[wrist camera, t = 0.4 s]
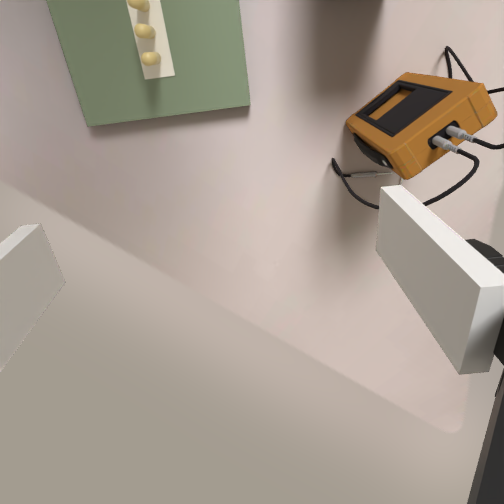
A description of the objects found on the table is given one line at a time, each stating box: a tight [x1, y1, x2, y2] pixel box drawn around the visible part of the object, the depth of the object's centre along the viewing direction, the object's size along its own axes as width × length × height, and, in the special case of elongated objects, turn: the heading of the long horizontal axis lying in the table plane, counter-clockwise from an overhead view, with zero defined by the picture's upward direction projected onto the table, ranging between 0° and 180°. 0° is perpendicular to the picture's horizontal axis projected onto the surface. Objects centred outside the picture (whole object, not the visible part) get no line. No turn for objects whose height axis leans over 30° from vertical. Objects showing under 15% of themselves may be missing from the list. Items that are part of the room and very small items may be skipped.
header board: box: [46, 0, 251, 127], centre depth 31 cm, size 14×16×5 cm
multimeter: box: [332, 46, 504, 209], centre depth 30 cm, size 15×10×20 cm
